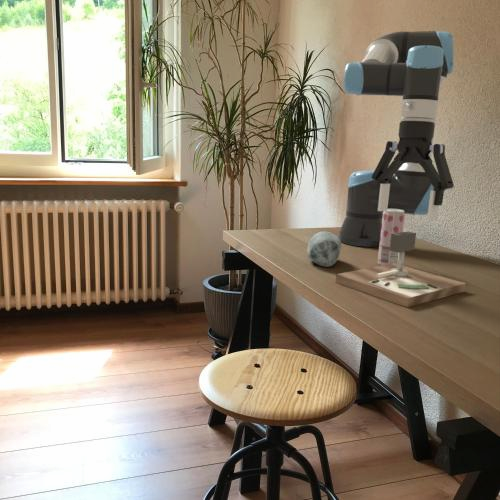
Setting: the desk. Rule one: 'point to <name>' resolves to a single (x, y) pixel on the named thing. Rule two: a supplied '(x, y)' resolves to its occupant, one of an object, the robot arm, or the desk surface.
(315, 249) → the pale teal yarn skein
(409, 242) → the grey piece
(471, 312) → the desk surface
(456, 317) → the desk surface
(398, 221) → the beverage can
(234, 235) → the desk surface
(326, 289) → the desk surface
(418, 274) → the dial board
